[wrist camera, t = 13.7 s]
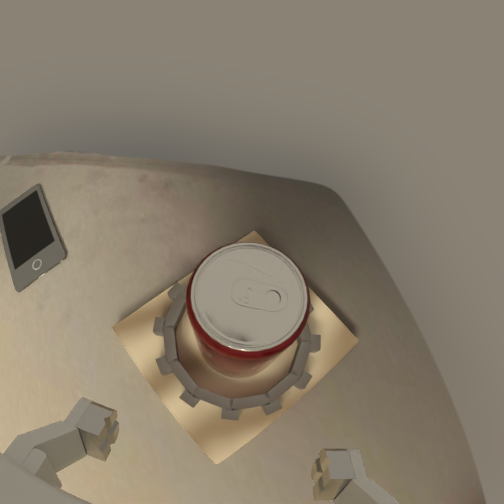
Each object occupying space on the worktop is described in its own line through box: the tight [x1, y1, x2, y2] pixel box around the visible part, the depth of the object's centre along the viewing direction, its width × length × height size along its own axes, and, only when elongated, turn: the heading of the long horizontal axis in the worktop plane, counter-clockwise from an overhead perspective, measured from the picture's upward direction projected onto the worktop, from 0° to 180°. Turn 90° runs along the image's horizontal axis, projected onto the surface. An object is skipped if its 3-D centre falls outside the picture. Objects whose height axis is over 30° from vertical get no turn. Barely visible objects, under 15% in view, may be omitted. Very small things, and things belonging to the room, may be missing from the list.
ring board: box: [112, 230, 359, 465], centre depth 27 cm, size 16×18×3 cm
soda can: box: [185, 242, 311, 378], centre depth 22 cm, size 7×7×12 cm
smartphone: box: [0, 184, 66, 292], centre depth 32 cm, size 15×8×1 cm, turn 40°
